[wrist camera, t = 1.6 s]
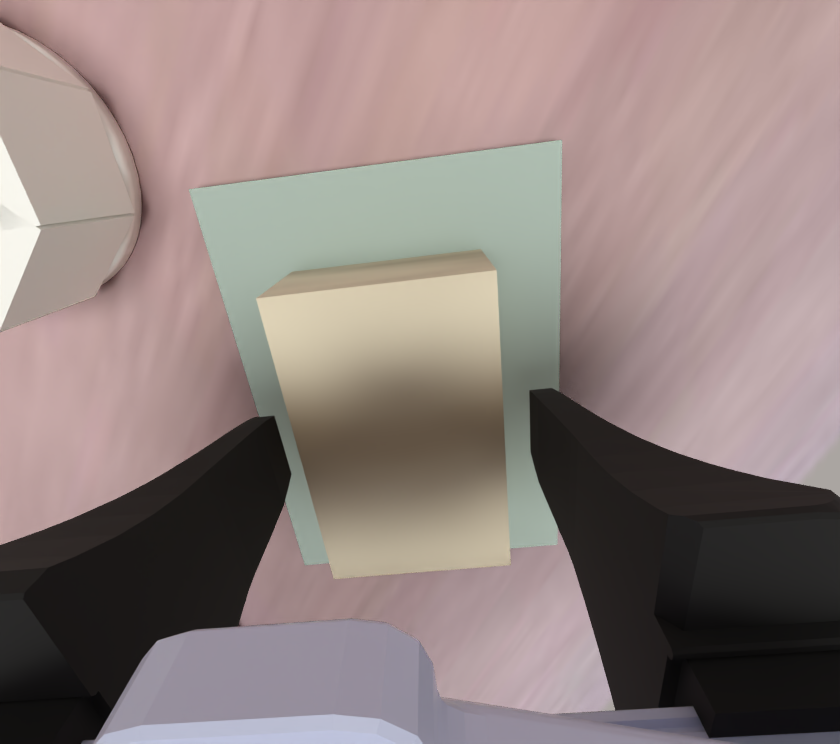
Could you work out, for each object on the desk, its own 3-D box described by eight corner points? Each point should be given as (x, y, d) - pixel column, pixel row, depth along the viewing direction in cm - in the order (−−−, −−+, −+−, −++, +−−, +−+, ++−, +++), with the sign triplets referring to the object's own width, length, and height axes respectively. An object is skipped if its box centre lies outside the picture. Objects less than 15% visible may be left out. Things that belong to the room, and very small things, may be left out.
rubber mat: (553, 535, 18) (557, 544, 17) (307, 555, 18) (305, 565, 18) (556, 141, 12) (562, 140, 11) (197, 188, 12) (188, 189, 12)
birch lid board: (495, 498, 16) (510, 565, 13) (348, 511, 16) (333, 579, 14) (480, 249, 12) (496, 270, 10) (291, 271, 13) (256, 298, 10)
